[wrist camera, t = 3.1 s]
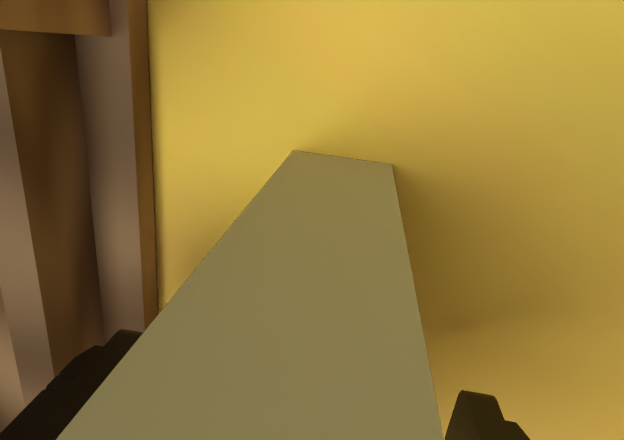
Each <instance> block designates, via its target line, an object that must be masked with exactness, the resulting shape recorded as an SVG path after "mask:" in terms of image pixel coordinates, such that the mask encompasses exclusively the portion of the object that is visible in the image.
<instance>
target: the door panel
mask: <svg viewBox="0 0 624 440" xmlns="http://www.w3.org/2000/svg"><path fill="white" fill-rule="evenodd" d="M56 440H444V439H443V433H442V428H441V423H440V418H439V412H438V407H437V402H436V396H435V391H434V386H433V381H432V375H431V370H430V365H429V359H428V354H427V349H426V344H425V338H424V333H423V328H422V322H421V317H420V312H419V307H418V301H417V296H416V291H415V285H414V280H413V275H412V270H411V264H410V259H409V254H408V248H407V243H406V238H405V233H404V227H403V222H402V217H401V211H400V206H399V201H398V196H397V190H396V185H395V180H394V175H393V169H392V164H386V163H379V162H372V161H365V160H358V159H351V158H344V157H337V156H330V155H323V154H316V153H308V152H301V151H294V150H293V151H292V152H291V153H290V155H289V156H288V157H287V158H286V159H285V161H284V162H283V163H282V164H281V166H280V167H279V168H278V169H277V170H276V172H275V173H274V174H273V175H272V177H271V178H270V179H269V180H268V181H267V183H266V184H265V185H264V186H263V187H262V189H261V190H260V191H259V192H258V194H257V195H256V196H255V197H254V198H253V200H252V201H251V202H250V203H249V205H248V206H247V207H246V208H245V209H244V211H243V212H242V213H241V214H240V216H239V217H238V218H237V219H236V220H235V222H234V223H233V224H232V225H231V227H230V228H229V229H228V230H227V231H226V233H225V234H224V235H223V236H222V238H221V239H220V240H219V241H218V242H217V244H216V245H215V246H214V247H213V248H212V250H211V251H210V252H209V253H208V255H207V256H206V257H205V258H204V259H203V261H202V262H201V263H200V264H199V266H198V267H197V268H196V269H195V270H194V272H193V273H192V274H191V275H190V277H189V278H188V279H187V280H186V281H185V283H184V284H183V285H182V286H181V288H180V289H179V290H178V291H177V292H176V294H175V295H174V296H173V297H172V299H171V300H170V301H169V302H168V303H167V305H166V306H165V307H164V308H163V310H162V311H161V312H160V313H159V314H158V316H157V317H156V318H155V319H154V320H153V322H152V323H151V324H150V325H149V327H148V328H147V329H146V330H145V331H144V333H143V334H142V335H141V336H140V338H139V339H138V340H137V341H136V342H135V344H134V345H133V346H132V347H131V349H130V350H129V351H128V352H127V353H126V355H125V356H124V357H123V358H122V360H121V361H120V362H119V363H118V364H117V366H116V367H115V368H114V369H113V371H112V372H111V373H110V374H109V375H108V377H107V378H106V379H105V380H104V382H103V383H102V384H101V385H100V386H99V388H98V389H97V390H96V391H95V392H94V394H93V395H92V396H91V397H90V399H89V400H88V401H87V402H86V403H85V405H84V406H83V407H82V408H81V410H80V411H79V412H78V413H77V414H76V416H75V417H74V418H73V419H72V421H71V422H70V423H69V424H68V425H67V427H66V428H65V429H64V430H63V432H62V433H61V434H60V435H59V436H58V438H57V439H56Z"/></svg>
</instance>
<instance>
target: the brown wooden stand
mask: <svg viewBox="0 0 624 440" xmlns="http://www.w3.org/2000/svg"><path fill="white" fill-rule="evenodd" d="M157 316H158V299H157V272H156V246H155V219H154V192H153V166H152V139H151V112H150V86H149V59H148V32H147V6H146V0H0V433H1V432H2V431H3V430H4V429H5V428H6V427H7V426H8V425H9V424H10V423H11V422H12V421H13V420H14V419H15V418H16V417H17V416H18V414H19V413H20V412H21V411H22V410H23V409H24V408H25V407H26V406H27V405H28V404H29V403H30V402H31V401H32V400H33V399H34V398H35V397H36V396H37V395H38V394H39V393H40V392H41V391H42V390H45V389H46V386H47V385H48V384H49V383H50V382H51V381H52V380H53V379H54V378H55V377H56V376H58V375H59V373H60V372H61V371H62V370H63V369H64V367H65V366H66V365H67V364H68V363H69V362H70V361H71V360H72V359H73V358H74V357H76V356H77V355H79V354H81V353H83V352H84V351H86V350H88V349H89V348H91V347H93V346H95V345H98V346H104V345H105V344H106V343H107V342H108V341H109V340H110V339H111V337H112V336H113V335H114V334H115V333H116V332H117V331H118V330H120V329H127V330H133V331H138V332H144V331H145V330H146V329H147V328H148V327H149V325H150V324H151V323H152V322H153V320H154V319H155V318H156V317H157Z"/></svg>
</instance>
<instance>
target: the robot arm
mask: <svg viewBox="0 0 624 440" xmlns="http://www.w3.org/2000/svg"><path fill="white" fill-rule="evenodd" d="M143 333H144V332H138V331H133V330H127V329H120V330H118V331H117V332H116V333H115V334H114V335H113V336H112V337H111V339H110V340H109V341H108V342H107V343H106V344H105V345H104V346H98V345H95V346H93V347H91V348H89V349H88V350H86V351H84V352H83V353H81V354H79V355H77V356H76V357H74V358H73V359H72V360H71V361H70V362H69V363H68V364H67V365H66V366H65V367H64V369H63V370H62V371H61V372H60V373H59V375H58V376H56V377H55V378H54V379H53V380H52V381H51V382H50V383H49V384H48V385H47V386H46V389H45V390H42V391H41V392H40V393H39V394H38V395H37V396H36V397H35V398H34V399H33V400H32V401H31V402H30V403H29V404H28V405H27V406H26V407H25V408H24V409H23V410H22V411H21V412H20V413H19V414H18V416H17V417H16V418H15V419H14V420H13V421H12V422H11V423H10V424H9V425H8V426H7V427H6V428H5V429H4V430H3V431H2V432H1V433H0V440H56V439H57V438H58V436H59V435H60V434H61V433H62V432H63V430H64V429H65V428H66V427H67V425H68V424H69V423H70V422H71V421H72V419H73V418H74V417H75V416H76V414H77V413H78V412H79V411H80V410H81V408H82V407H83V406H84V405H85V403H86V402H87V401H88V400H89V399H90V397H91V396H92V395H93V394H94V392H95V391H96V390H97V389H98V388H99V386H100V385H101V384H102V383H103V382H104V380H105V379H106V378H107V377H108V375H109V374H110V373H111V372H112V371H113V369H114V368H115V367H116V366H117V364H118V363H119V362H120V361H121V360H122V358H123V357H124V356H125V355H126V353H127V352H128V351H129V350H130V349H131V347H132V346H133V345H134V344H135V342H136V341H137V340H138V339H139V338H140V336H141V335H142V334H143ZM445 440H530V439H529V437H528V436H527V435H526V434H525V433H524V431H523V430H522V429H521V428H520V427H519V425H518V424H517V423H515V422H510V421H504V418H503V415H502V413H501V410H500V407H499V405H498V402H497V400H496V398H495V397H494V396H492V395H487V394H481V393H476V392H470V391H464V390H462V391H460V393H459V395H458V398H457V401H456V404H455V407H454V410H453V413H452V416H451V419H450V423H449V426H448V429H447V432H446V436H445Z"/></svg>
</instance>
